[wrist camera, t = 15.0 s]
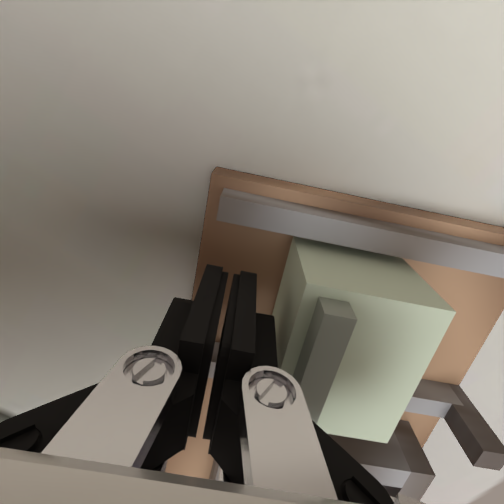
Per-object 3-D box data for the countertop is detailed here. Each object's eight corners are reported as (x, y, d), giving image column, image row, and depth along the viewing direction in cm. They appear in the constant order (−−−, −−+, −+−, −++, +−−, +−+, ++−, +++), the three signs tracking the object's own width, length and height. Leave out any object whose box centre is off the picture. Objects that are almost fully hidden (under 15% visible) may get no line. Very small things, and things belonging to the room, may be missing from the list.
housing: (167, 474, 19) (140, 579, 15) (216, 166, 12) (194, 194, 8) (363, 504, 20) (393, 612, 16) (512, 229, 13) (637, 285, 9)
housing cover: (262, 348, 13) (264, 447, 9) (293, 236, 12) (311, 299, 8) (356, 365, 14) (397, 468, 10) (402, 257, 12) (474, 330, 8)
